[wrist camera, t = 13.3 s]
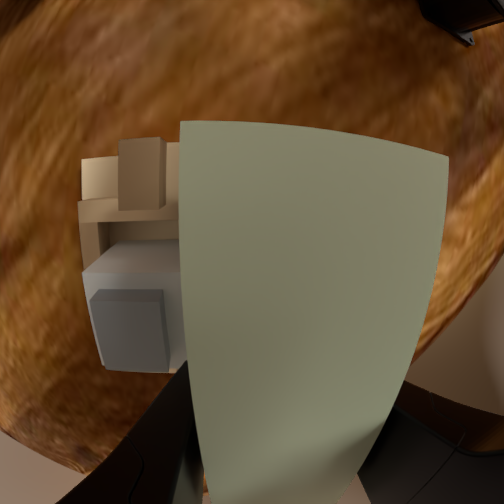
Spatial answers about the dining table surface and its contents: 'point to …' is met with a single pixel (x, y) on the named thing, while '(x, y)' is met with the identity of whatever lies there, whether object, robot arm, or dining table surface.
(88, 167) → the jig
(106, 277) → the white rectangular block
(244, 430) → the pale green rectangular block
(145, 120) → the dining table surface
